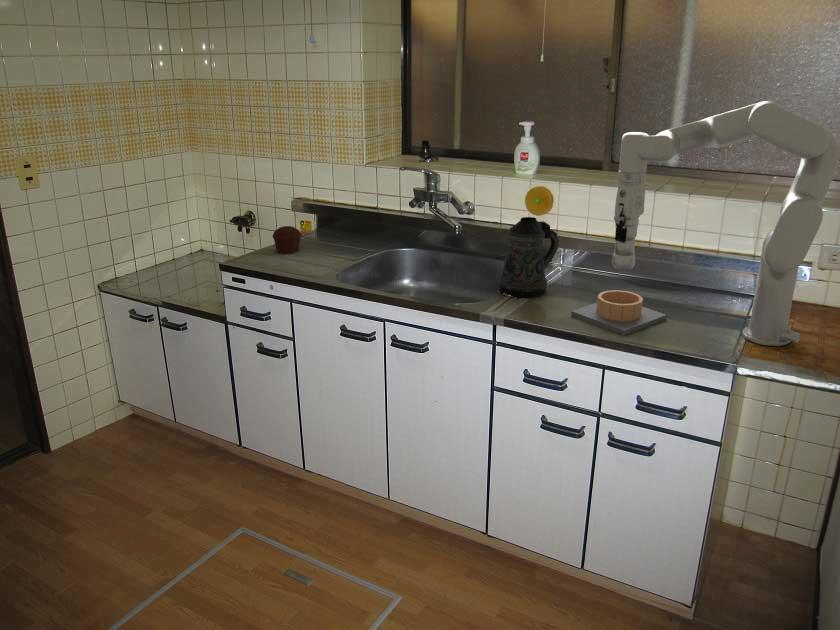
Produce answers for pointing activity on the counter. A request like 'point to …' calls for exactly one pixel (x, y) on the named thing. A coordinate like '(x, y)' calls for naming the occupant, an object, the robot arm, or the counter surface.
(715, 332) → the counter surface
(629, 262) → the plastic bottle
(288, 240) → the muffin
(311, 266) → the counter surface
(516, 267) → the beer stein
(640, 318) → the duct base
